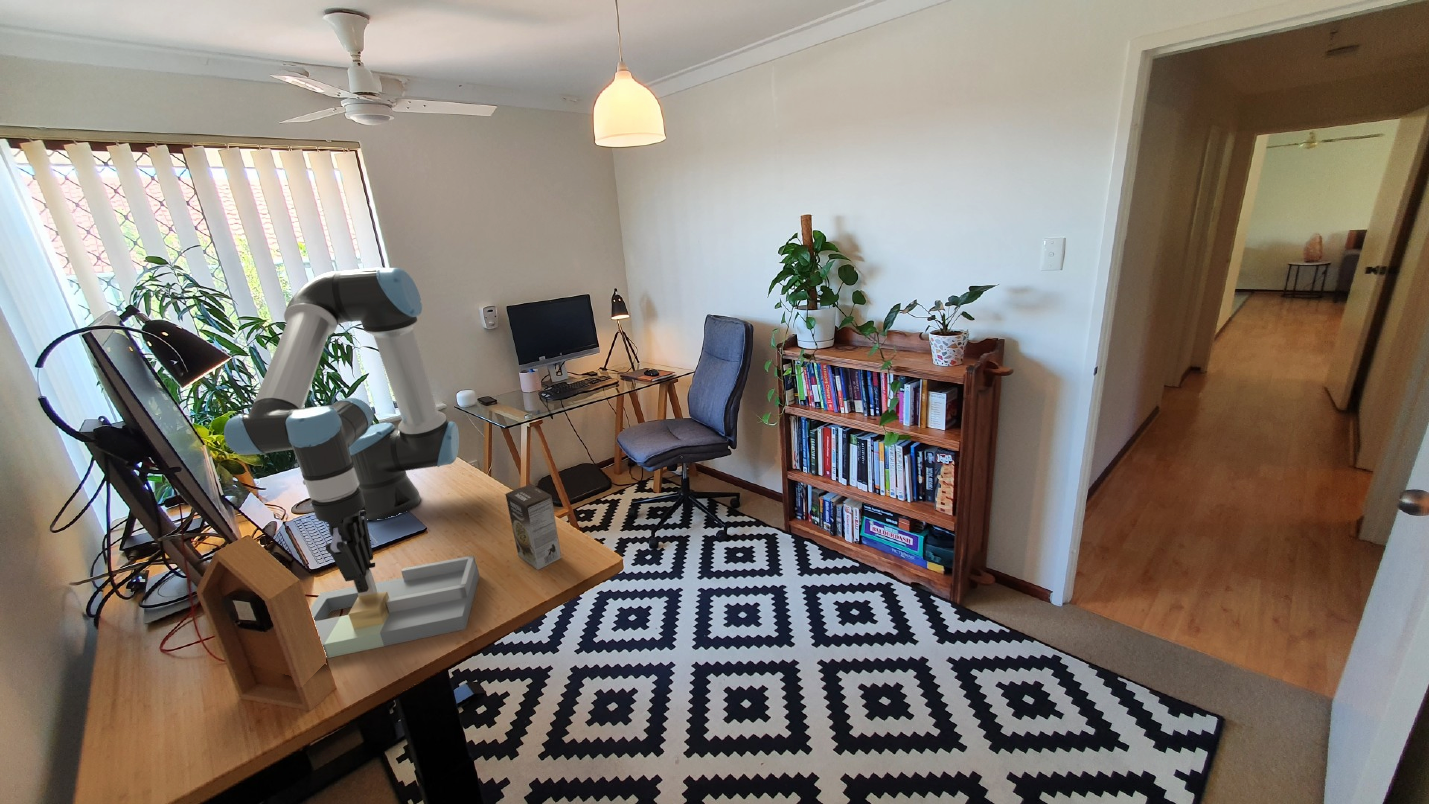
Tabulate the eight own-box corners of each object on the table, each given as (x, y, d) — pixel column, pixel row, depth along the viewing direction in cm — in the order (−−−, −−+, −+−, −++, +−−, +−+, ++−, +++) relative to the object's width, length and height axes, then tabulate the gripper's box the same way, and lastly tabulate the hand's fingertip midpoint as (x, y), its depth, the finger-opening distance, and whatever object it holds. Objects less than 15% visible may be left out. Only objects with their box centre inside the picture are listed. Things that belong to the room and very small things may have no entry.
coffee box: (516, 556, 124) (503, 493, 119) (541, 543, 128) (530, 482, 123) (537, 571, 118) (524, 506, 113) (563, 557, 122) (551, 494, 117)
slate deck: (325, 605, 111) (317, 582, 110) (479, 575, 118) (474, 554, 116) (284, 667, 96) (274, 642, 94) (465, 629, 102) (459, 605, 100)
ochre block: (363, 611, 104) (358, 596, 103) (391, 606, 105) (387, 591, 104) (353, 629, 99) (348, 613, 98) (383, 623, 101) (378, 607, 99)
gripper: (327, 480, 102) (360, 584, 110) (294, 514, 90) (335, 628, 98) (371, 474, 104) (401, 577, 111) (345, 506, 92) (381, 619, 99)
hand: (370, 601), depth 104 cm, fingers closed
